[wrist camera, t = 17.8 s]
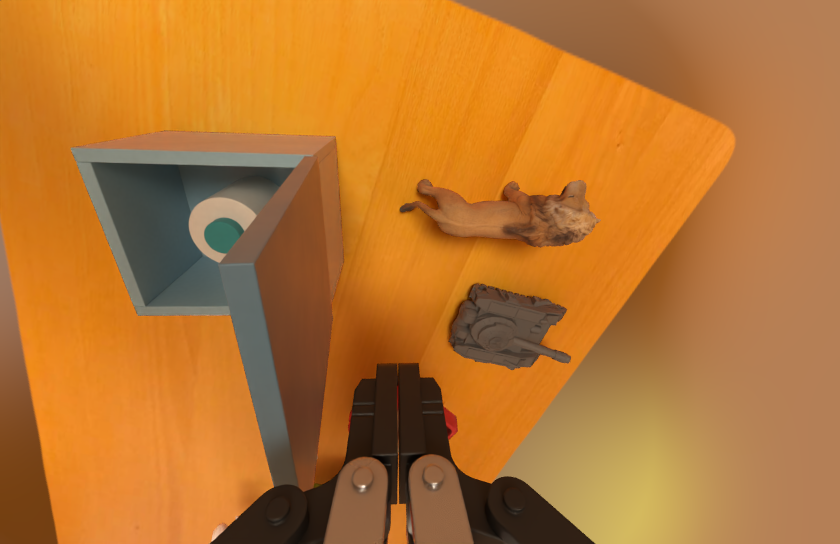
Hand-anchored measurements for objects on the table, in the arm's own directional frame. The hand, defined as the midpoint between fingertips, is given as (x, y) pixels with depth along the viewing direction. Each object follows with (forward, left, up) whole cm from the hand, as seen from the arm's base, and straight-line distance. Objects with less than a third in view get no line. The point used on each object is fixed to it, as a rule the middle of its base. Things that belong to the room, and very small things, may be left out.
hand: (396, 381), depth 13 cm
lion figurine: (+8, +1, -22) cm, 24 cm away
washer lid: (-5, 0, -5) cm, 7 cm away
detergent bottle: (-12, 0, -21) cm, 24 cm away
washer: (-12, 0, -22) cm, 25 cm away
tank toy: (+12, -13, -22) cm, 28 cm away
